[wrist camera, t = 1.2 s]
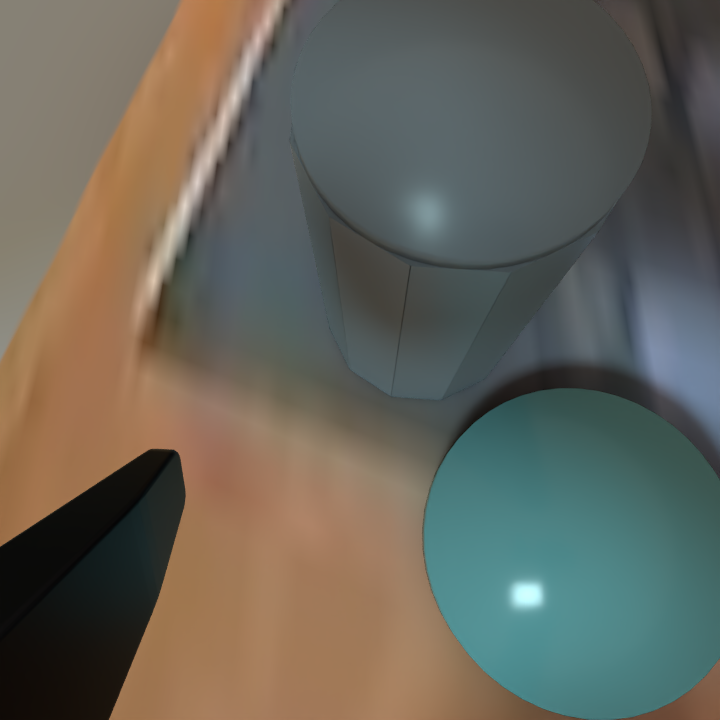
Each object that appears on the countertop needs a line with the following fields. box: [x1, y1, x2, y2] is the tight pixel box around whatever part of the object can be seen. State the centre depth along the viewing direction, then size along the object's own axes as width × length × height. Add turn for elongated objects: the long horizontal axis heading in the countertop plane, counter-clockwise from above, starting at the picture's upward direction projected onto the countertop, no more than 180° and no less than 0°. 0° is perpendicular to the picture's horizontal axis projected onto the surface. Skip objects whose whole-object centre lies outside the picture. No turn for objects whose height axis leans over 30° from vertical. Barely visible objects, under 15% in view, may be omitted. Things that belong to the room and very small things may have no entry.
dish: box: [422, 388, 720, 720], centre depth 21 cm, size 11×11×1 cm
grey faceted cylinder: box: [290, 0, 652, 400], centre depth 18 cm, size 7×7×12 cm
